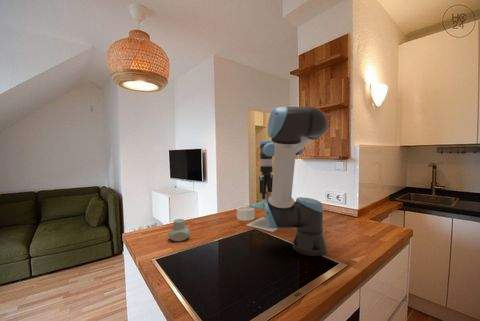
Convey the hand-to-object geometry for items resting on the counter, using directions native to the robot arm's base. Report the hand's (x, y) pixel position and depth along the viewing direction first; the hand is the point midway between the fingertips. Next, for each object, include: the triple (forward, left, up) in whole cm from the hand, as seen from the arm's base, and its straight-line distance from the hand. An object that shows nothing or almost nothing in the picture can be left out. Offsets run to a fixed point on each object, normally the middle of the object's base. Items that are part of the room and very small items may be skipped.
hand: (266, 203), depth 133 cm
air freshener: (-46, +26, -14) cm, 54 cm away
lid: (0, 0, -2) cm, 2 cm away
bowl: (+2, +18, -13) cm, 23 cm away
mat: (0, 0, -13) cm, 13 cm away
